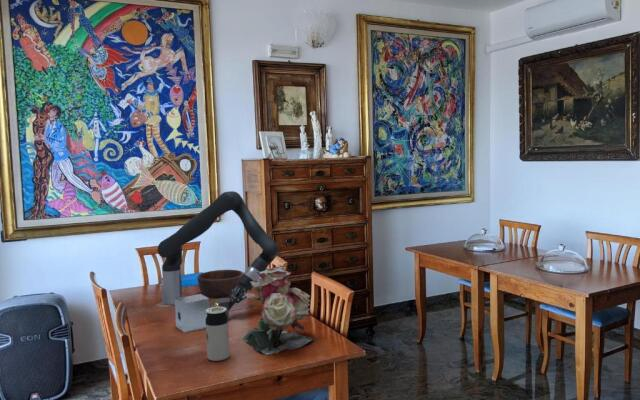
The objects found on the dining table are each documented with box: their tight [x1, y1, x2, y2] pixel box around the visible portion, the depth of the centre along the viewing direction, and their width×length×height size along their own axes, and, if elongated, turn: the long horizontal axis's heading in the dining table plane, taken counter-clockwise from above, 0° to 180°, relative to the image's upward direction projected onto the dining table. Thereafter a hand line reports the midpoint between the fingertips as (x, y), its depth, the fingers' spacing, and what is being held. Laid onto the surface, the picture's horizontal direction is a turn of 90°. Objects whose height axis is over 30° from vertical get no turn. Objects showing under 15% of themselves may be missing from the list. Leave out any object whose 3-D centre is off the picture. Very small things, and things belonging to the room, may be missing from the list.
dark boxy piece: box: [210, 298, 230, 321], centre depth 230 cm, size 18×6×8 cm, turn 124°
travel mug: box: [205, 306, 230, 362], centre depth 190 cm, size 8×8×18 cm
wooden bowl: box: [197, 269, 244, 298], centre depth 283 cm, size 25×25×10 cm
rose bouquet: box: [242, 264, 315, 356], centre depth 205 cm, size 26×29×30 cm
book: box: [161, 271, 204, 288], centre depth 308 cm, size 17×4×25 cm
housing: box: [174, 293, 211, 334], centre depth 226 cm, size 12×10×12 cm
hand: (226, 308), depth 236 cm, fingers closed
